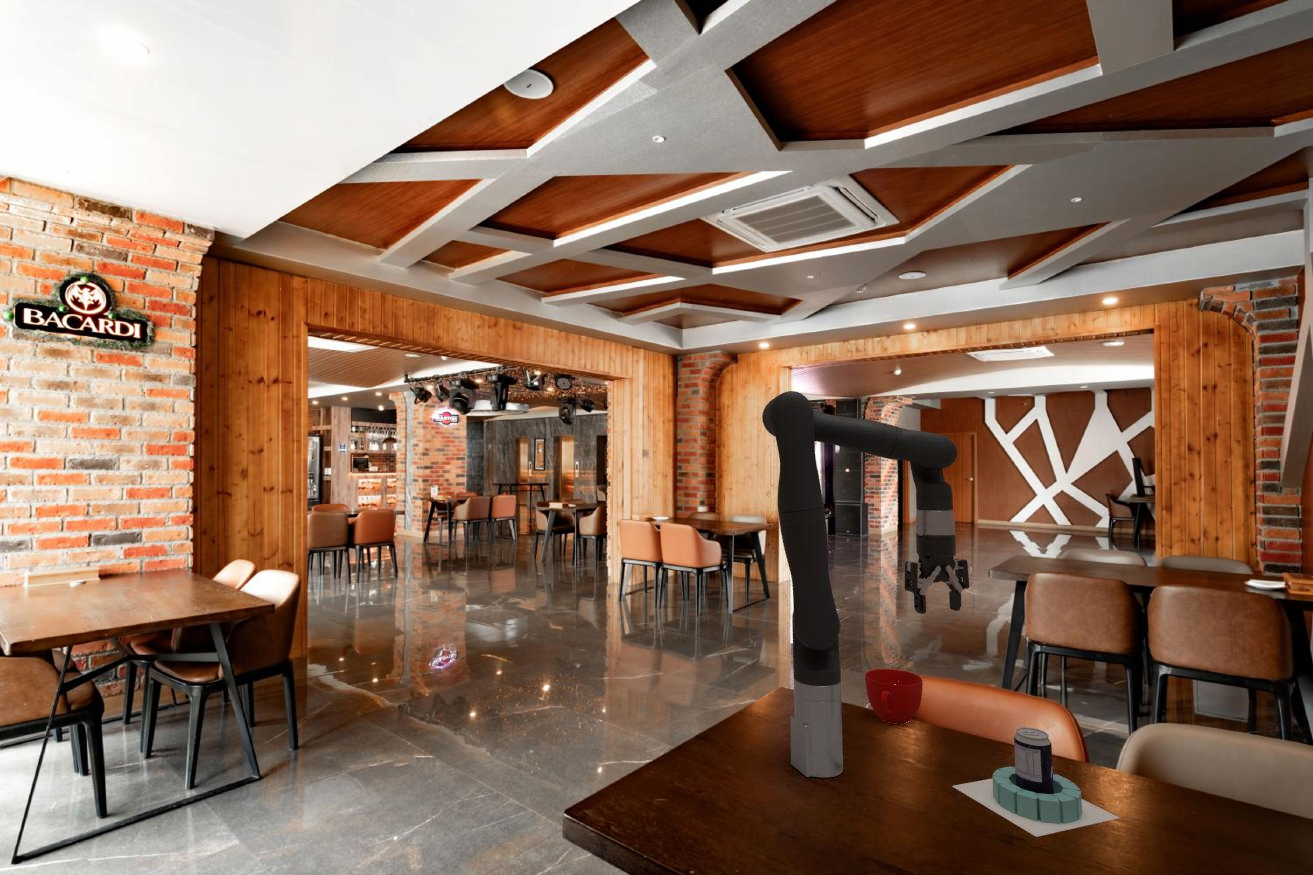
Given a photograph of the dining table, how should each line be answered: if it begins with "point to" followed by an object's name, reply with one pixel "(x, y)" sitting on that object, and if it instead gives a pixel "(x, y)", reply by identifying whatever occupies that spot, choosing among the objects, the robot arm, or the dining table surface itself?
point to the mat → (984, 795)
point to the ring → (1038, 798)
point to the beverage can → (1033, 761)
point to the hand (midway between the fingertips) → (938, 611)
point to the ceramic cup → (894, 694)
